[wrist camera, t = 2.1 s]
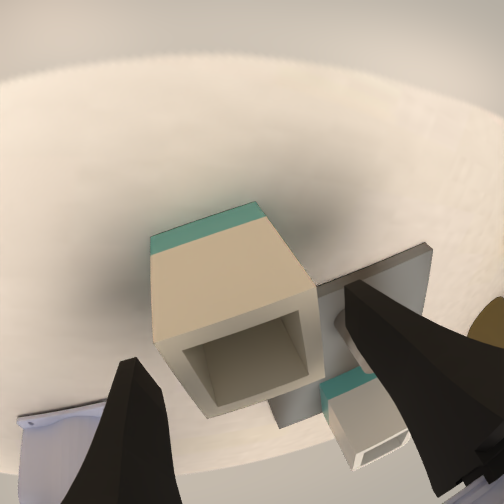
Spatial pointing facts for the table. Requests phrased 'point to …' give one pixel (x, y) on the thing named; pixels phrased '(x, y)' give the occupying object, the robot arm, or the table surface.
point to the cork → (490, 324)
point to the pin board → (335, 350)
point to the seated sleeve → (362, 417)
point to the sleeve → (234, 311)
